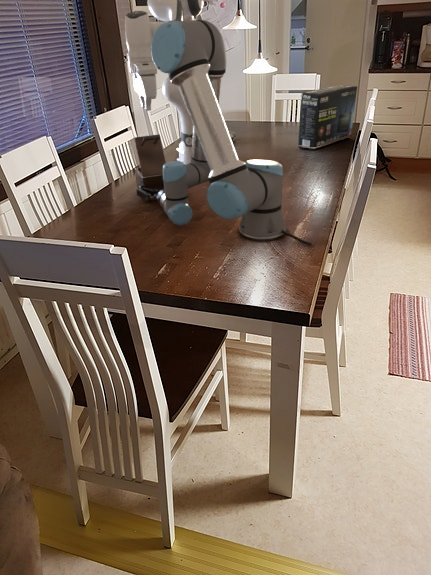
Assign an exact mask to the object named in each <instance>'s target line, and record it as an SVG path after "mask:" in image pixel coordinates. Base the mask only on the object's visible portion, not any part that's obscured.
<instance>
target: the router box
mask: <svg viewBox="0 0 431 575" xmlns="http://www.w3.org/2000/svg"><path fill="white" fill-rule="evenodd" d="M357 93H358V86H356V85H350V84H339V85H338V84H337V85H334V86H328V87H324V88H318V89H314V90H309V91H304V92H301V93H300V109H299V110H300V111H299V124H298V137H297V146H298V145H302V146H307V147H317V146H320V145H323V144H325V143H328V142H331V141H333V140H336V139H338V138H341V137H344V136H347V135H351V136H352V133H353V132H352V131H353V125H354V115H355V109H356V99H357ZM311 151H313V150H312V149H311Z"/></svg>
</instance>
